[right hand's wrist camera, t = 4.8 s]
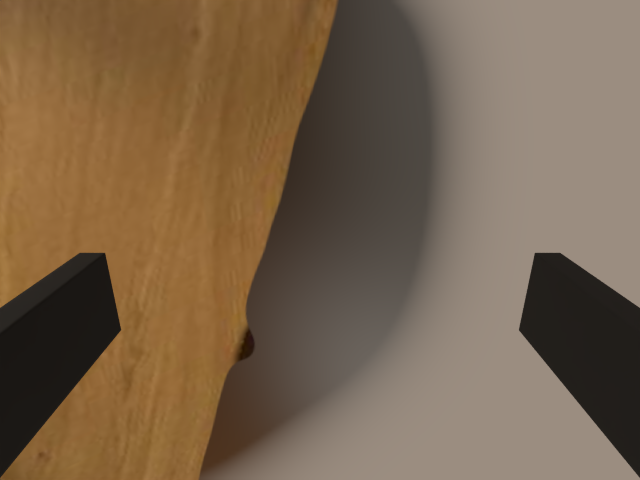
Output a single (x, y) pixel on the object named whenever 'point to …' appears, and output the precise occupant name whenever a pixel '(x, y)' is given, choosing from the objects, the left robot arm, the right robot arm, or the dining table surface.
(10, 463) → the right robot arm
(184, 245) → the dining table surface
